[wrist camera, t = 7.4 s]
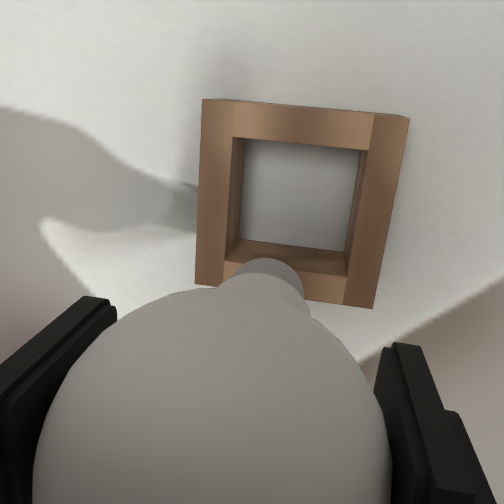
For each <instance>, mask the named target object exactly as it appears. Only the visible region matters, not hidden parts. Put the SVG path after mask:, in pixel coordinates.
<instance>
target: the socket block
mask: <svg viewBox="0 0 504 504" xmlns="http://www.w3.org/2000/svg"><path fill="white" fill-rule="evenodd" d="M409 122H410V118H407V117H403V116H400V115H394V114H383V113H372V112H361V111H350V110H339V109H328V108H317V107H306V106H295V105H284V104H273V103H262V102H251V101H240V100H229V99H202V117H201V141H200V165H199V189H198V213H197V238H196V262H195V284H199V285H207V286H214V287H218V286H219V285H220V284H222V283H223V282H225V281H226V280H228V279H230V278H231V276H232V275H233V274H234V273H235V272H236V271H237V270H238V269H239V267H240V266H242V265H243V264H245V263H246V262H248V261H251V260H253V259H258V258H271V259H276V260H278V261H281V262H283V263H285V264H287V265H288V266H289V267H291V268H292V269H293V270H294V271H295V272H296V274H297V275H298V276H299V278H300V280H301V282H302V286H303V291H304V299H305V300H312V301H319V302H326V303H333V304H340V305H347V306H354V307H361V308H368V309H373V304H374V299H375V294H376V289H377V284H378V279H379V274H380V269H381V264H382V259H383V254H384V249H385V244H386V238H387V233H388V228H389V223H390V218H391V213H392V208H393V203H394V198H395V193H396V188H397V183H398V178H399V172H400V167H401V162H402V157H403V152H404V147H405V142H406V137H407V132H408V127H409ZM246 138H251V139H261V140H271V141H281V142H291V143H301V144H311V145H320V146H330V147H340V148H350V149H360V150H361V152H360V158H359V164H358V170H357V176H356V182H355V189H354V195H353V201H352V207H351V213H350V219H349V225H348V231H347V237H346V243H345V249H344V252H337V251H329V250H321V249H314V248H306V247H298V246H290V245H283V244H275V243H267V242H259V241H252V240H244V239H238V231H239V218H240V205H241V192H242V178H243V165H244V152H245V139H246Z"/></svg>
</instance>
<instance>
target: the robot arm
mask: <svg viewBox="0 0 504 504" xmlns="http://www.w3.org/2000/svg"><path fill="white" fill-rule="evenodd" d="M115 322H117V310H116V307H115V306H111V304H110V301H109V300H108V299H104V298H97V297H91V296H83V297H81V298H80V299H79V300H78V301H77V302H75V303H74V304H73V305H72V306H71V307H69V308H68V309H67V310H66V311H64V312H63V313H62V314H61V315H60V316H58V317H57V318H56V319H55V320H54V321H52V322H51V323H50V324H49V325H48V326H46V327H45V328H44V329H43V330H42V331H40V332H39V333H38V334H37V335H35V336H34V337H33V338H32V339H31V340H29V341H28V342H27V343H26V344H25V345H23V346H22V347H21V348H20V349H19V350H18V351H16V352H15V353H14V354H13V355H11V356H10V357H9V358H8V359H7V360H5V361H4V362H3V363H2V364H0V504H33V503H32V488H33V465H34V460H35V455H36V449H37V444H38V440H39V437H40V434H41V431H42V427H43V424H44V421H45V418H46V415H47V412H48V410H49V408H50V406H51V404H52V402H53V400H54V398H55V396H56V394H57V392H58V390H59V388H60V386H61V385H62V383H63V381H64V379H65V377H66V375H67V374H68V372H69V370H70V368H71V367H72V366H73V364H74V363H75V362H76V361H77V360H78V359H79V357H80V356H81V355H82V354H83V353H84V352H85V350H86V349H87V348H88V347H89V346H90V345H91V344H92V343H93V342H94V341H95V340H96V339H97V337H98V336H99V335H100V334H101V333H102V332H103V331H104V330H106V329H107V328H108V327H110V326H111V325H113V324H114V323H115ZM373 393H374V395H375V397H376V399H377V401H378V403H379V405H380V408H381V410H382V412H383V417H384V422H385V426H386V431H387V435H388V440H389V446H390V451H391V456H392V462H393V470H392V489H391V504H497V503H496V501H495V498H494V496H493V494H492V491H491V489H490V486H489V484H488V482H487V479H486V477H485V474H484V472H483V470H482V467H481V465H480V463H479V460H478V458H477V455H476V453H475V451H474V448H473V446H472V443H471V441H470V439H469V436H468V434H467V432H466V429H465V427H464V425H463V422H462V420H461V418H460V416H459V414H458V413H456V412H455V411H449V410H445V409H444V407H443V404H442V402H441V399H440V396H439V394H438V391H437V389H436V386H435V383H434V380H433V378H432V375H431V373H430V370H429V367H428V365H427V362H426V359H425V357H424V354H423V352H422V349H421V347H420V346H417V345H410V344H404V343H397V342H394V343H393V344H392V346H391V348H388V347H384V348H383V350H382V353H381V358H380V362H379V367H378V372H377V377H376V382H375V386H374V391H373Z"/></svg>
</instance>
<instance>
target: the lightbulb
mask: <svg viewBox="0 0 504 504" xmlns="http://www.w3.org/2000/svg"><path fill="white" fill-rule="evenodd" d="M392 470H393V462H392V456H391V451H390V446H389V440H388V435H387V431H386V426H385V422H384V417H383V412H382V410H381V408H380V405H379V403H378V401H377V399H376V397H375V395H374V393H373V391H372V389H371V387H370V385H369V383H368V381H367V379H366V377H365V375H364V374H363V372H362V370H361V368H360V366H359V365H358V363H357V362H356V361H355V359H354V358H353V357H352V355H351V354H350V353H349V351H348V350H347V349H346V348H345V346H344V345H343V344H342V342H341V341H340V340H339V339H338V338H336V337H335V336H334V335H333V334H332V333H331V332H330V331H328V330H327V329H326V328H325V327H324V326H323V325H322V324H320V323H319V322H318V321H317V320H315V319H313V318H312V317H311V316H310V312H309V309H308V307H307V305H306V303H305V301H304V291H303V286H302V282H301V280H300V278H299V276H298V275H297V274H296V272H295V271H294V270H293V269H292V268H291V267H289V266H288V265H287V264H285V263H283V262H281V261H278V260H276V259H271V258H258V259H253V260H251V261H248V262H246V263H245V264H243V265H242V266H240V267H239V269H238V270H237V271H236V272H235V273H234V274H233V275H232V276H231V278H230V279H228V280H226V281H225V282H223V283H222V284H220V285H219V286H218V287H217V288H198V289H193V290H188V291H183V292H178V293H173V294H170V295H167V296H165V297H162V298H160V299H158V300H155V301H153V302H151V303H148V304H146V305H144V306H142V307H140V308H138V309H136V310H134V311H132V312H130V313H129V314H127V315H125V316H124V317H123V318H121V319H120V320H118V321H117V322H115V323H114V324H113V325H111V326H110V327H108V328H107V329H106V330H104V331H103V332H102V333H101V334H100V335H99V336H98V337H97V339H96V340H95V341H94V342H93V343H92V344H91V345H90V346H89V347H88V348H87V349H86V350H85V352H84V353H83V354H82V355H81V356H80V357H79V359H78V360H77V361H76V362H75V363H74V364H73V366H72V367H71V368H70V370H69V372H68V374H67V375H66V377H65V379H64V381H63V383H62V385H61V386H60V388H59V390H58V392H57V394H56V396H55V398H54V400H53V402H52V404H51V406H50V408H49V410H48V412H47V415H46V418H45V421H44V424H43V427H42V431H41V434H40V437H39V440H38V444H37V449H36V455H35V460H34V465H33V488H32V503H33V504H391V489H392Z"/></svg>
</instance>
